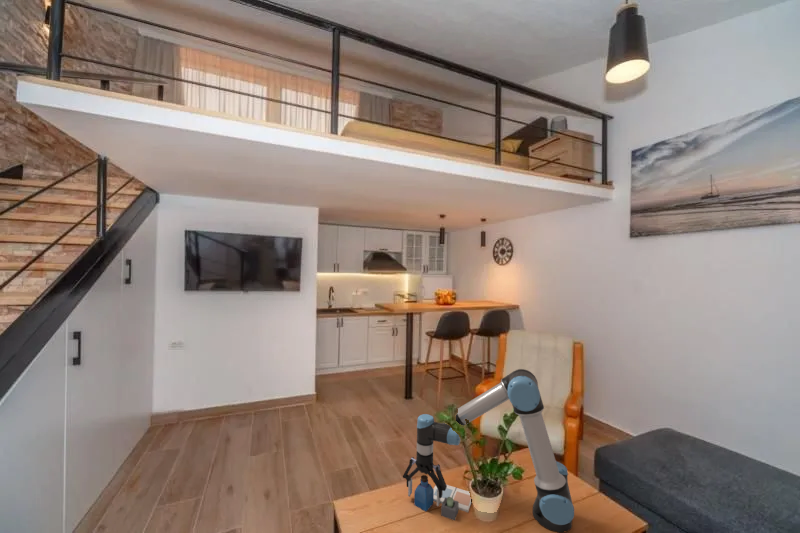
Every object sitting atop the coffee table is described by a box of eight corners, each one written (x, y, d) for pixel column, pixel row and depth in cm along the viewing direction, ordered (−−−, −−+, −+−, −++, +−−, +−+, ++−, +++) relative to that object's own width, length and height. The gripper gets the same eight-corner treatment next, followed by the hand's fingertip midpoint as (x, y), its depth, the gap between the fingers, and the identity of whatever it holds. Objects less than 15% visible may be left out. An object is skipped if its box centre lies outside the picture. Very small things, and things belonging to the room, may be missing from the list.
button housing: (458, 511, 138) (458, 501, 138) (454, 520, 132) (454, 510, 132) (445, 506, 140) (445, 497, 140) (441, 515, 135) (441, 506, 135)
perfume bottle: (426, 511, 137) (426, 483, 137) (414, 505, 141) (414, 477, 141) (433, 503, 142) (433, 476, 142) (421, 497, 146) (422, 471, 146)
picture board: (473, 495, 148) (473, 492, 148) (468, 512, 137) (468, 509, 137) (437, 483, 155) (437, 481, 155) (429, 499, 144) (429, 496, 144)
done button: (453, 507, 137) (454, 498, 137) (452, 511, 134) (452, 502, 134) (447, 505, 138) (447, 496, 138) (445, 509, 135) (446, 500, 136)
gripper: (454, 454, 140) (453, 502, 139) (403, 440, 150) (402, 485, 150) (449, 463, 133) (448, 514, 133) (396, 448, 144) (395, 495, 143)
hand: (423, 499), depth 141 cm, fingers open, 13 cm apart
